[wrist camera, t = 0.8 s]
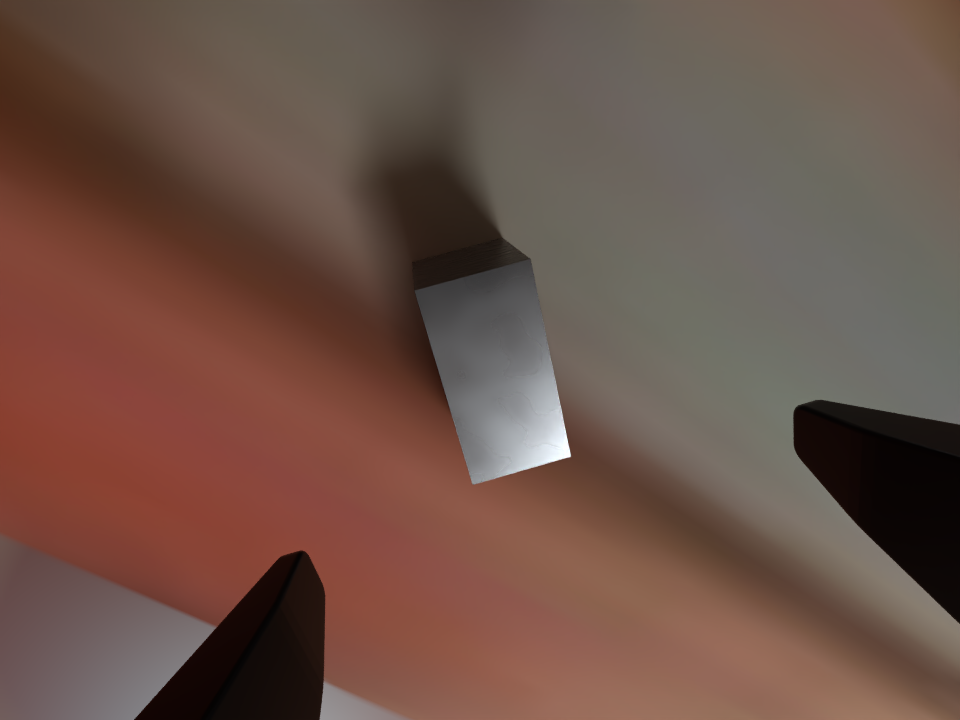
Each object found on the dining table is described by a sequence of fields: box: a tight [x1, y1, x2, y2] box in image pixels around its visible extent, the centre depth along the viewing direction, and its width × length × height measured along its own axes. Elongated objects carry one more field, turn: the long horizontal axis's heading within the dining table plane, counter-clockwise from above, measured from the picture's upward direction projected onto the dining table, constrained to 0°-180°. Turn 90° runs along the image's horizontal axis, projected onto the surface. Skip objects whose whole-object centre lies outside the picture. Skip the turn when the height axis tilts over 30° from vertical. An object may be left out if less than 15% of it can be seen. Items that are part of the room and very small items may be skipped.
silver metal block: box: [412, 238, 571, 485], centre depth 16 cm, size 3×6×4 cm, turn 13°
